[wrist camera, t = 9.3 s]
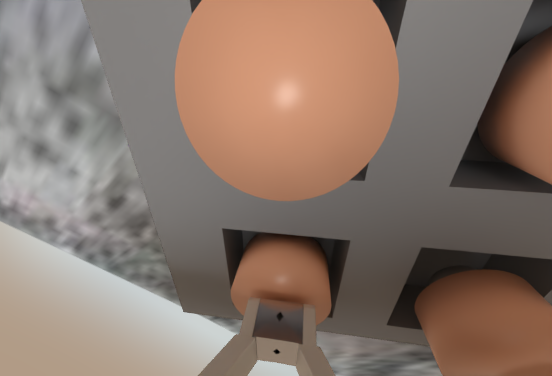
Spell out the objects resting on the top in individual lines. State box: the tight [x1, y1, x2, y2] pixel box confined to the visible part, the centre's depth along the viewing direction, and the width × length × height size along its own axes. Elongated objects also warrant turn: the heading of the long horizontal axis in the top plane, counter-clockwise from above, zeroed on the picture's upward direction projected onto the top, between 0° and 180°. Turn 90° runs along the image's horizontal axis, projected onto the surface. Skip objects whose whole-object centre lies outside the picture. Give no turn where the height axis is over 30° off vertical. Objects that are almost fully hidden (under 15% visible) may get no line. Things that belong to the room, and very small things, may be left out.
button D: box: [231, 232, 331, 325], centre depth 12 cm, size 5×5×4 cm
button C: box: [414, 265, 552, 376], centre depth 10 cm, size 5×5×4 cm
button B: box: [175, 0, 399, 201], centre depth 6 cm, size 5×5×4 cm
